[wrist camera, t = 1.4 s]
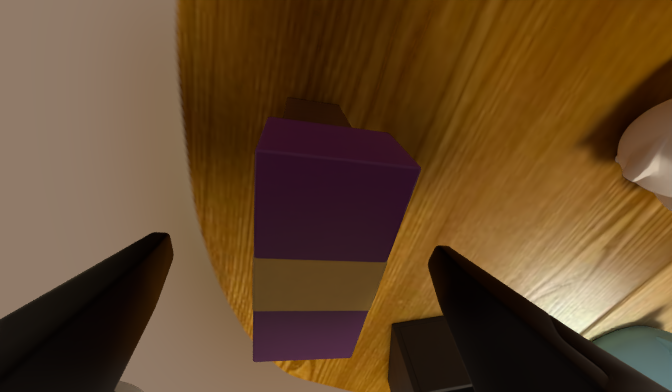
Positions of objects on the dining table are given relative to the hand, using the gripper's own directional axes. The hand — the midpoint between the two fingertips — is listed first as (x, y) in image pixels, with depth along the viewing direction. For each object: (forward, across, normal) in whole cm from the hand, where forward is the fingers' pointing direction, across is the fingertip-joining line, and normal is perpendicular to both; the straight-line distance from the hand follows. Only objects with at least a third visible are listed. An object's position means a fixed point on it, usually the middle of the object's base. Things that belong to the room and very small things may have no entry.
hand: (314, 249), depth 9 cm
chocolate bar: (+1, 0, 0) cm, 1 cm away
